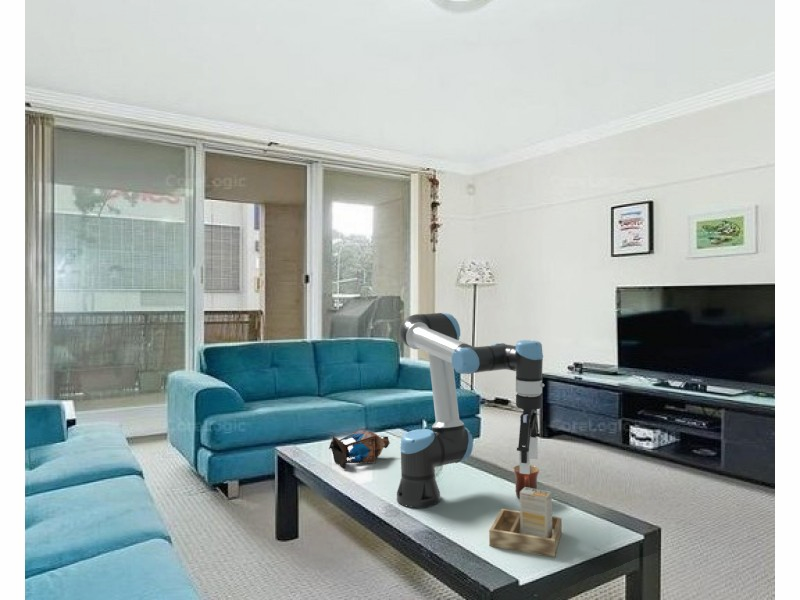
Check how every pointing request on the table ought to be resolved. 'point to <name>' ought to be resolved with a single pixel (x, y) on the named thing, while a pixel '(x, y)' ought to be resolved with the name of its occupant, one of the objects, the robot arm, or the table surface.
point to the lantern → (358, 448)
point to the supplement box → (536, 512)
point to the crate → (522, 535)
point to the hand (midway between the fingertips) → (528, 465)
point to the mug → (525, 479)
